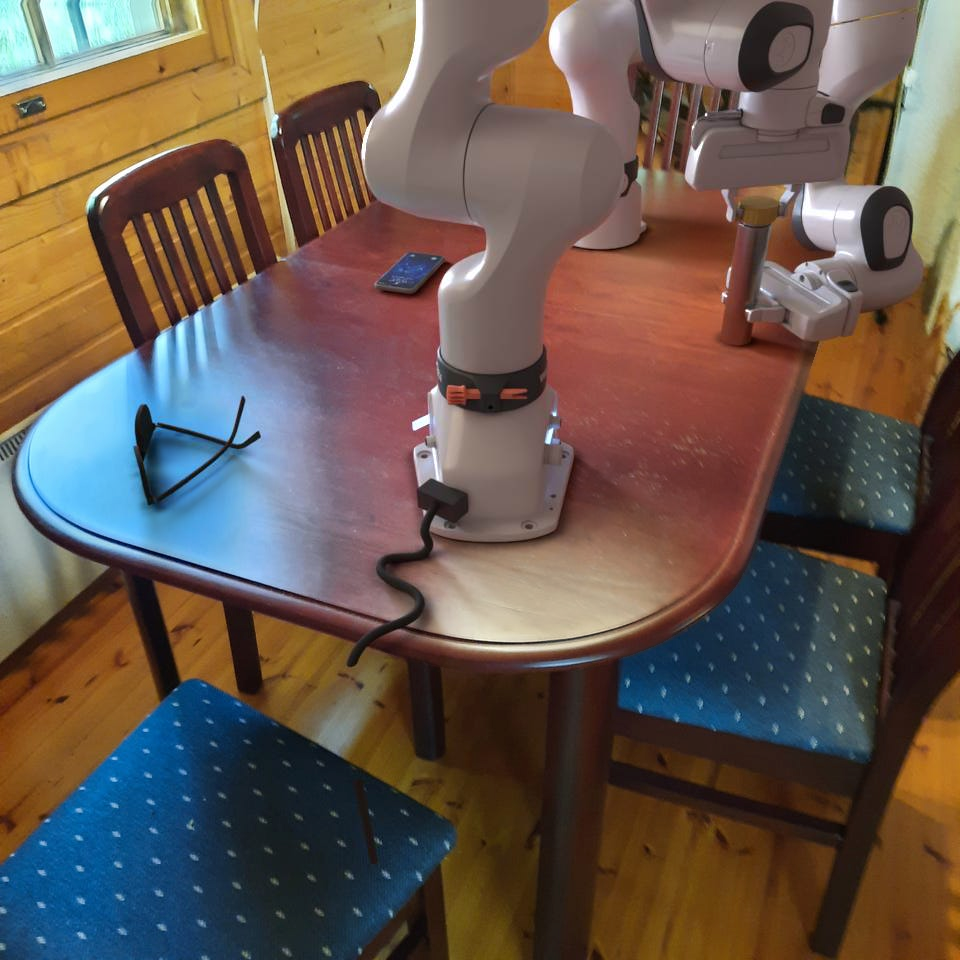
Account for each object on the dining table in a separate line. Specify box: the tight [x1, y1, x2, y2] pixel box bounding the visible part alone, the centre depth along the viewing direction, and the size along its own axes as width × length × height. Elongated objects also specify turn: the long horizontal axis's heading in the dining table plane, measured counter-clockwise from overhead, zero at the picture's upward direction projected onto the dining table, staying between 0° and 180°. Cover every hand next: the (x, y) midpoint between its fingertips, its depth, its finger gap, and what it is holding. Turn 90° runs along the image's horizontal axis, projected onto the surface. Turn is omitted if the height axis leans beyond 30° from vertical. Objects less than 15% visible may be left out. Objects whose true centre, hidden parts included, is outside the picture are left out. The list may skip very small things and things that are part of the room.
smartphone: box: [373, 251, 446, 295], centre depth 143 cm, size 7×1×15 cm
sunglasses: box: [132, 395, 262, 506], centre depth 100 cm, size 17×14×5 cm
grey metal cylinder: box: [719, 221, 773, 347], centre depth 117 cm, size 4×4×19 cm
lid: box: [737, 195, 779, 225], centre depth 112 cm, size 5×5×2 cm
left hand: (756, 218), depth 113 cm, fingers closed on lid, 5 cm apart
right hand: (735, 307), depth 120 cm, fingers closed on grey metal cylinder, 4 cm apart
